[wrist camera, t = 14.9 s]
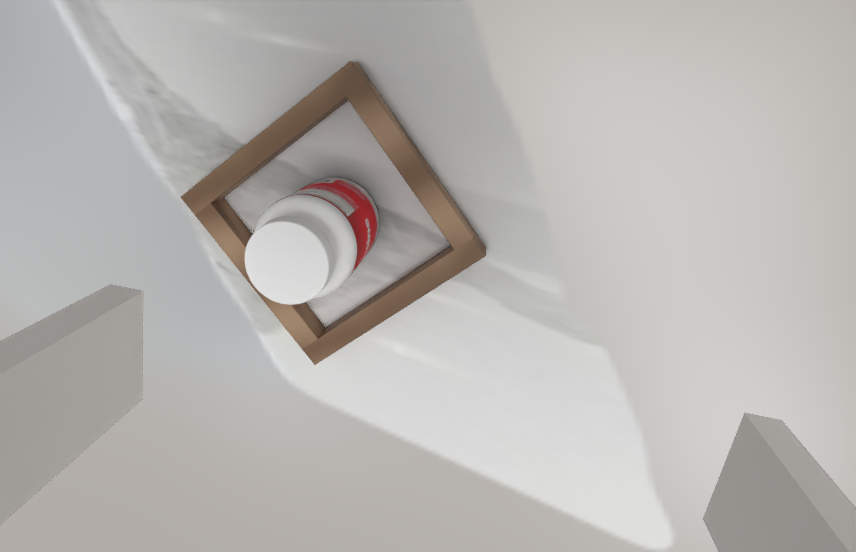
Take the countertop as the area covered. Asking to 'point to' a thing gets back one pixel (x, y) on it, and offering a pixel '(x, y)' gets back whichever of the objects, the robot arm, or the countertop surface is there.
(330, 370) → the countertop surface
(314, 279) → the pill bottle
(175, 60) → the countertop surface
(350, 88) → the brown wooden square frame
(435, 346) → the countertop surface
